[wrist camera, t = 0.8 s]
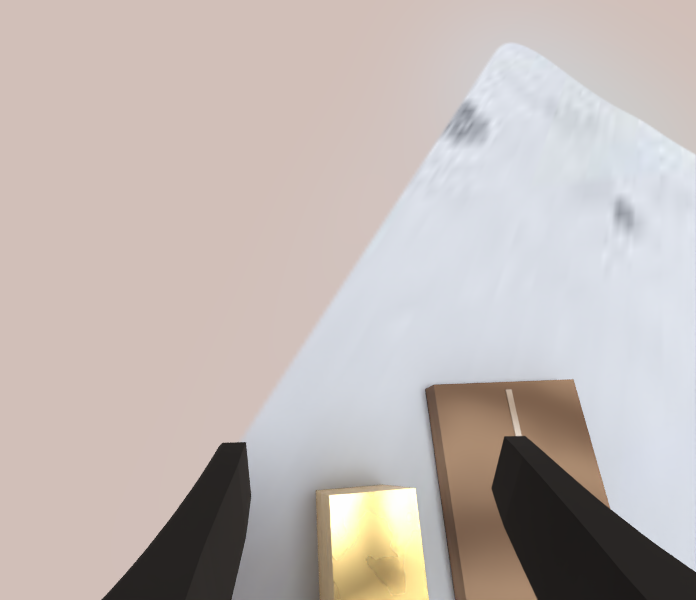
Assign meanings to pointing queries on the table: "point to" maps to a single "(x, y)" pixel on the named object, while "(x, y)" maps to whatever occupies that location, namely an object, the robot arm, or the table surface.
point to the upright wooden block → (370, 544)
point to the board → (480, 465)
